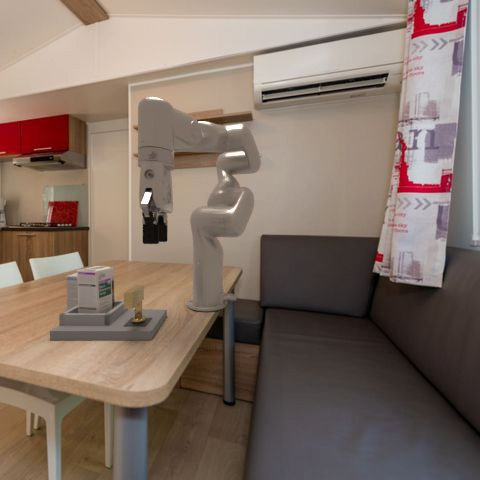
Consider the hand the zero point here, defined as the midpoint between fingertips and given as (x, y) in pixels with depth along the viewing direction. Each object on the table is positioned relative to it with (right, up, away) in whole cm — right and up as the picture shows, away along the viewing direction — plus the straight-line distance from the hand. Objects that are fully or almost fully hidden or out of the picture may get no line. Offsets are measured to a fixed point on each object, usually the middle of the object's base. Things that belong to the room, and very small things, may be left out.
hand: (155, 242), depth 54 cm
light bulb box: (-28, -20, +20) cm, 40 cm away
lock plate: (-12, -21, +6) cm, 25 cm away
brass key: (-6, -19, +2) cm, 20 cm away
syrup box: (-17, -21, +7) cm, 28 cm away
